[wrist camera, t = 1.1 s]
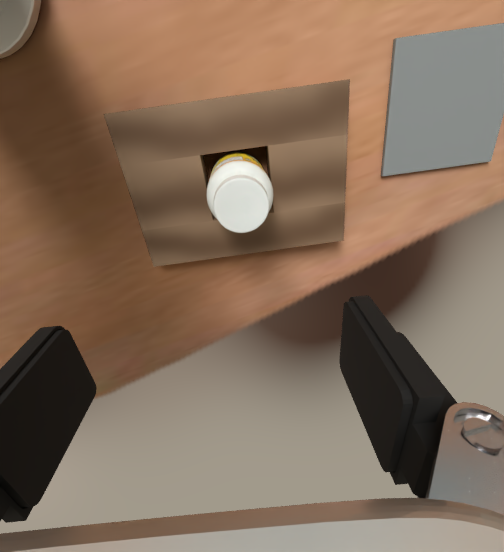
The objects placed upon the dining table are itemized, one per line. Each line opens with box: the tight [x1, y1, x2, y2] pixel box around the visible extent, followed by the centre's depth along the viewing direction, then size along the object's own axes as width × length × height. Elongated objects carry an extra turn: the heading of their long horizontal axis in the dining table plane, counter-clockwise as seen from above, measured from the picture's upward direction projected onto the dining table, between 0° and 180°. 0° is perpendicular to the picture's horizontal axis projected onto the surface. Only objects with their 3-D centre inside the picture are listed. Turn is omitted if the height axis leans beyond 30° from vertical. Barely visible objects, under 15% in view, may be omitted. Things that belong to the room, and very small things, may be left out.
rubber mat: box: [381, 23, 504, 176], centre depth 26 cm, size 11×11×1 cm
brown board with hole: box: [104, 79, 350, 267], centre depth 28 cm, size 14×20×2 cm
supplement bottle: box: [207, 151, 273, 233], centre depth 25 cm, size 5×5×10 cm
